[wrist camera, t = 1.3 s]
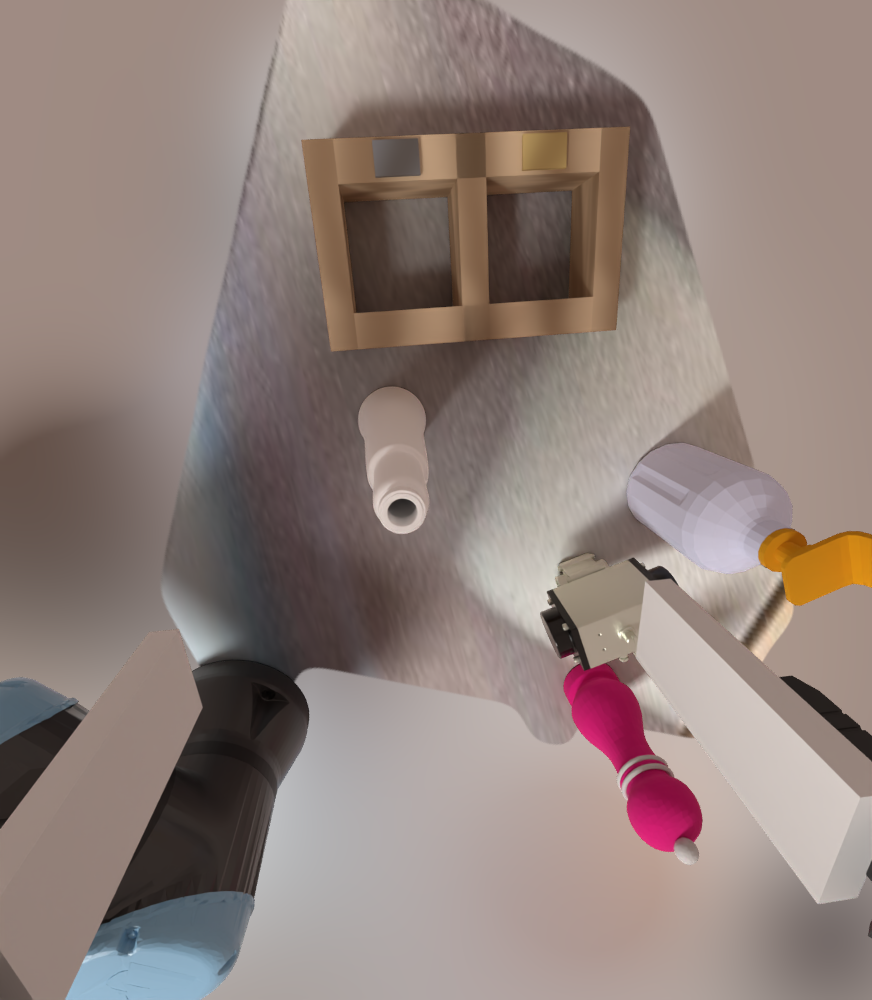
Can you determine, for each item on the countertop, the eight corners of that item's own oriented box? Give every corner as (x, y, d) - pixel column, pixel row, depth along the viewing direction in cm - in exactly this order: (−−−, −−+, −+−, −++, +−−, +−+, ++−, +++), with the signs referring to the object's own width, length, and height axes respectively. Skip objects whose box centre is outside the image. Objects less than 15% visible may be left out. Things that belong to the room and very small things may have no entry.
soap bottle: (613, 466, 46) (843, 607, 23) (700, 426, 45) (1022, 530, 23) (636, 539, 49) (858, 726, 26) (718, 503, 49) (1015, 661, 26)
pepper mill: (625, 689, 57) (744, 869, 38) (570, 714, 57) (662, 903, 38) (607, 647, 54) (726, 817, 35) (550, 673, 54) (638, 855, 36)
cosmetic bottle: (350, 441, 42) (320, 552, 22) (369, 376, 40) (357, 431, 20) (413, 461, 44) (441, 583, 23) (434, 399, 42) (486, 472, 21)
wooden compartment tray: (337, 348, 39) (330, 351, 34) (312, 164, 35) (300, 138, 30) (589, 329, 41) (618, 329, 36) (598, 151, 36) (632, 124, 31)
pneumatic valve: (518, 572, 49) (559, 645, 38) (623, 531, 49) (695, 592, 38) (533, 612, 51) (576, 694, 40) (634, 573, 51) (705, 644, 40)
